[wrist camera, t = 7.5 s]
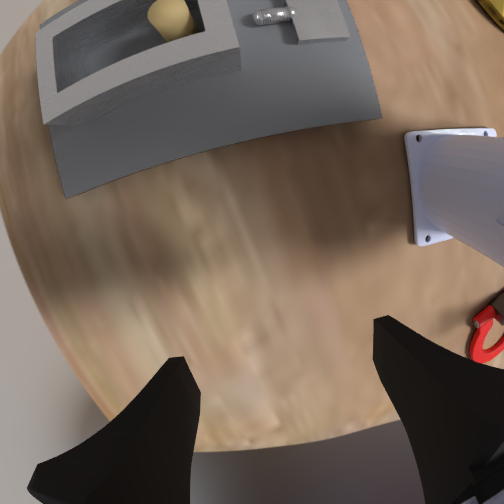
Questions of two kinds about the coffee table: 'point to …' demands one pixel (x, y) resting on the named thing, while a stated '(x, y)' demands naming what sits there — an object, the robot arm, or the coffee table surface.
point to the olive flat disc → (494, 10)
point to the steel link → (130, 69)
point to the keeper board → (216, 95)
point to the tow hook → (499, 309)
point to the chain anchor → (308, 20)
